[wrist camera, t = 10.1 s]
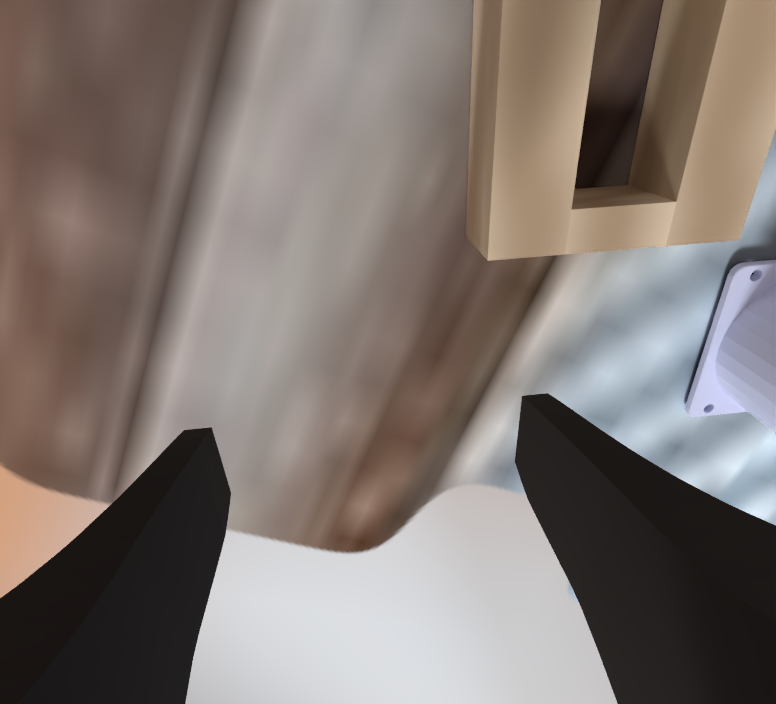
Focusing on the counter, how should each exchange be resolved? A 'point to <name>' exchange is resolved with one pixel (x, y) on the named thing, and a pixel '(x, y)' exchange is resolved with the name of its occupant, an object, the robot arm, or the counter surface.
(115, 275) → the counter surface
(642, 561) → the robot arm
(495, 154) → the slotted wooden frame
